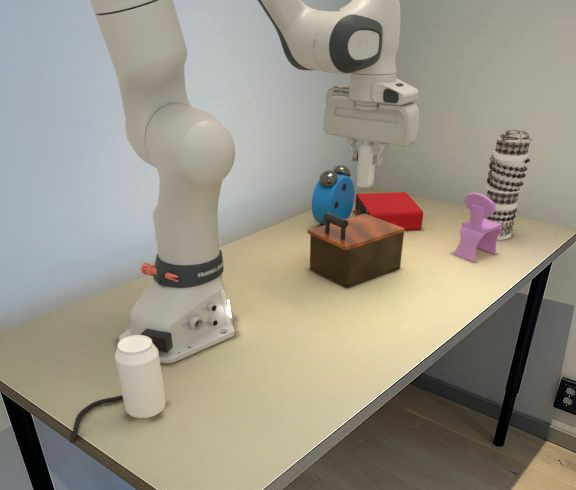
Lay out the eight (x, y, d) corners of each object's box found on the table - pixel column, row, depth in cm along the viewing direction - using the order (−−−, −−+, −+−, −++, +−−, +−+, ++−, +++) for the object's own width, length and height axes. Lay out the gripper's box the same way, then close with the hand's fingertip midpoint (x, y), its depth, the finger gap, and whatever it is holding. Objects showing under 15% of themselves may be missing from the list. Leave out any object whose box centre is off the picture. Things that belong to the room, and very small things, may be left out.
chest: (346, 288, 126) (349, 249, 121) (309, 269, 134) (310, 232, 129) (400, 269, 134) (404, 231, 129) (361, 252, 143) (364, 217, 138)
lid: (346, 250, 121) (347, 227, 118) (307, 233, 129) (307, 211, 126) (404, 231, 129) (406, 209, 127) (364, 216, 138) (366, 195, 135)
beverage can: (138, 395, 94) (126, 329, 87) (173, 401, 92) (164, 335, 86) (118, 417, 89) (104, 350, 82) (155, 425, 88) (143, 357, 81)
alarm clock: (334, 216, 165) (337, 160, 156) (354, 220, 162) (357, 164, 153) (310, 229, 156) (311, 171, 147) (330, 234, 153) (332, 175, 144)
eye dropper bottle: (381, 184, 124) (386, 123, 117) (363, 189, 121) (368, 127, 114) (366, 180, 127) (370, 120, 120) (348, 185, 124) (351, 124, 117)
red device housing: (354, 210, 168) (356, 193, 166) (403, 208, 170) (405, 191, 167) (368, 232, 154) (370, 213, 151) (421, 230, 155) (423, 211, 152)
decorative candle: (493, 225, 158) (513, 126, 144) (520, 235, 152) (544, 133, 137) (468, 231, 154) (486, 130, 140) (495, 242, 148) (517, 137, 133)
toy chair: (500, 254, 141) (514, 192, 133) (477, 263, 137) (490, 199, 128) (472, 244, 147) (484, 183, 138) (449, 252, 142) (460, 190, 134)
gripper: (318, 86, 116) (316, 158, 124) (411, 95, 106) (403, 173, 114) (335, 82, 120) (332, 152, 128) (426, 91, 111) (417, 166, 118)
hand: (366, 162), depth 121 cm, fingers closed on eye dropper bottle, 4 cm apart
